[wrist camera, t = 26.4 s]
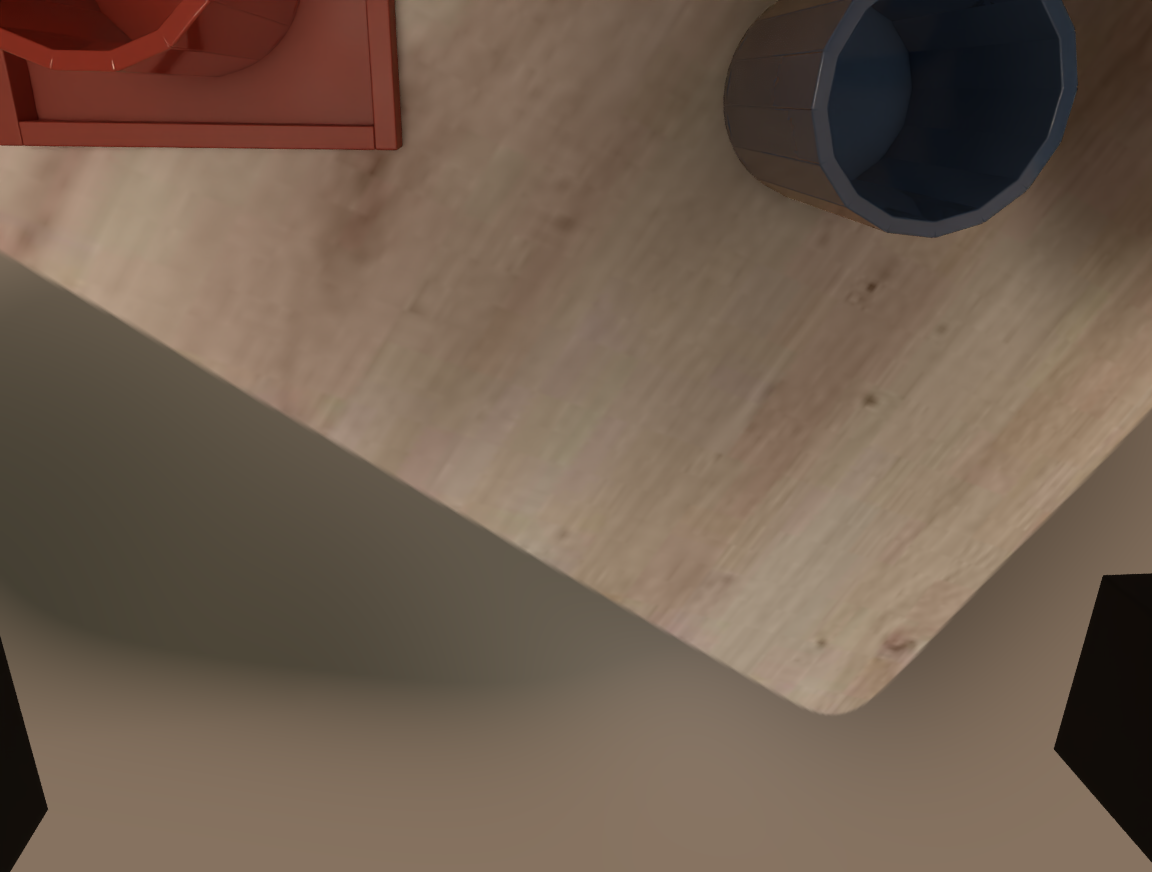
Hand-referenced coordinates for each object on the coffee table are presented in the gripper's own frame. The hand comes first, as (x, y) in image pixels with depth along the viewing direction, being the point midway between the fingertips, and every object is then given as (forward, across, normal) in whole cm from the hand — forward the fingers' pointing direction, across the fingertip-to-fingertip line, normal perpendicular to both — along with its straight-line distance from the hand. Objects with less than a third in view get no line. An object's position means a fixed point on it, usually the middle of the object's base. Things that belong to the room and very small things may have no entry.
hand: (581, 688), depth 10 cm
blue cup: (+27, +12, +7) cm, 30 cm away
